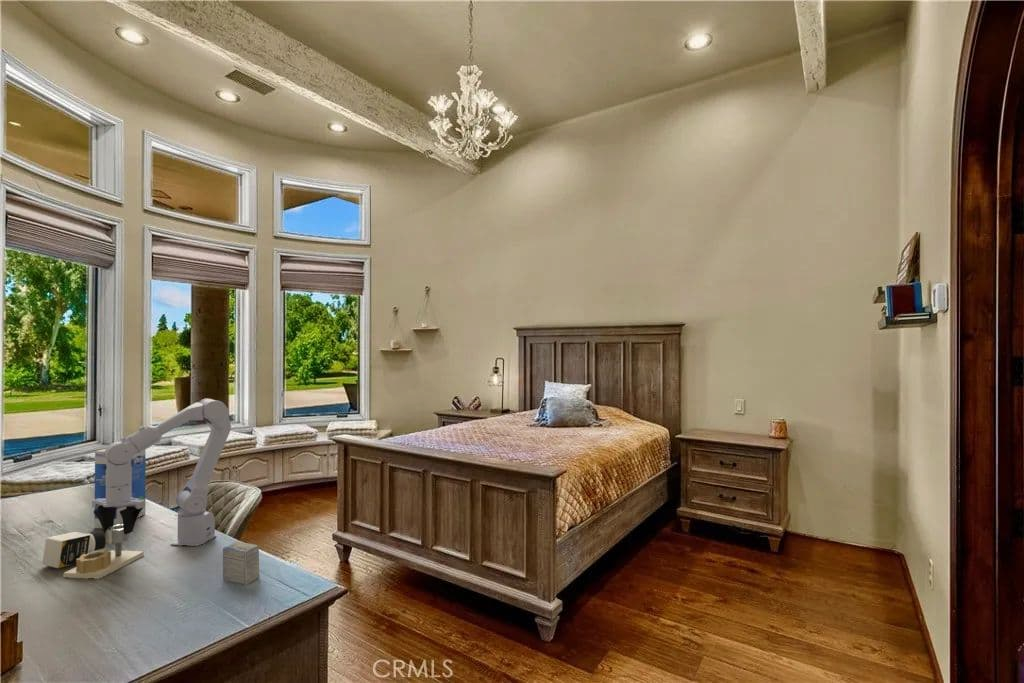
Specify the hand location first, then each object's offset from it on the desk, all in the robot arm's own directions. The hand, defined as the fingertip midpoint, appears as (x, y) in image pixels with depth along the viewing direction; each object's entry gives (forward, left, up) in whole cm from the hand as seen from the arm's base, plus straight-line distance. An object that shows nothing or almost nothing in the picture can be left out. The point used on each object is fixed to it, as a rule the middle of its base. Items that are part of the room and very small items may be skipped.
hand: (118, 532), depth 137 cm
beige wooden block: (-42, +8, -8) cm, 43 cm away
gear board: (0, +4, -8) cm, 9 cm away
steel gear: (0, 0, -2) cm, 2 cm away
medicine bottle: (+13, +7, -3) cm, 15 cm away
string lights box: (+25, -28, -8) cm, 38 cm away
